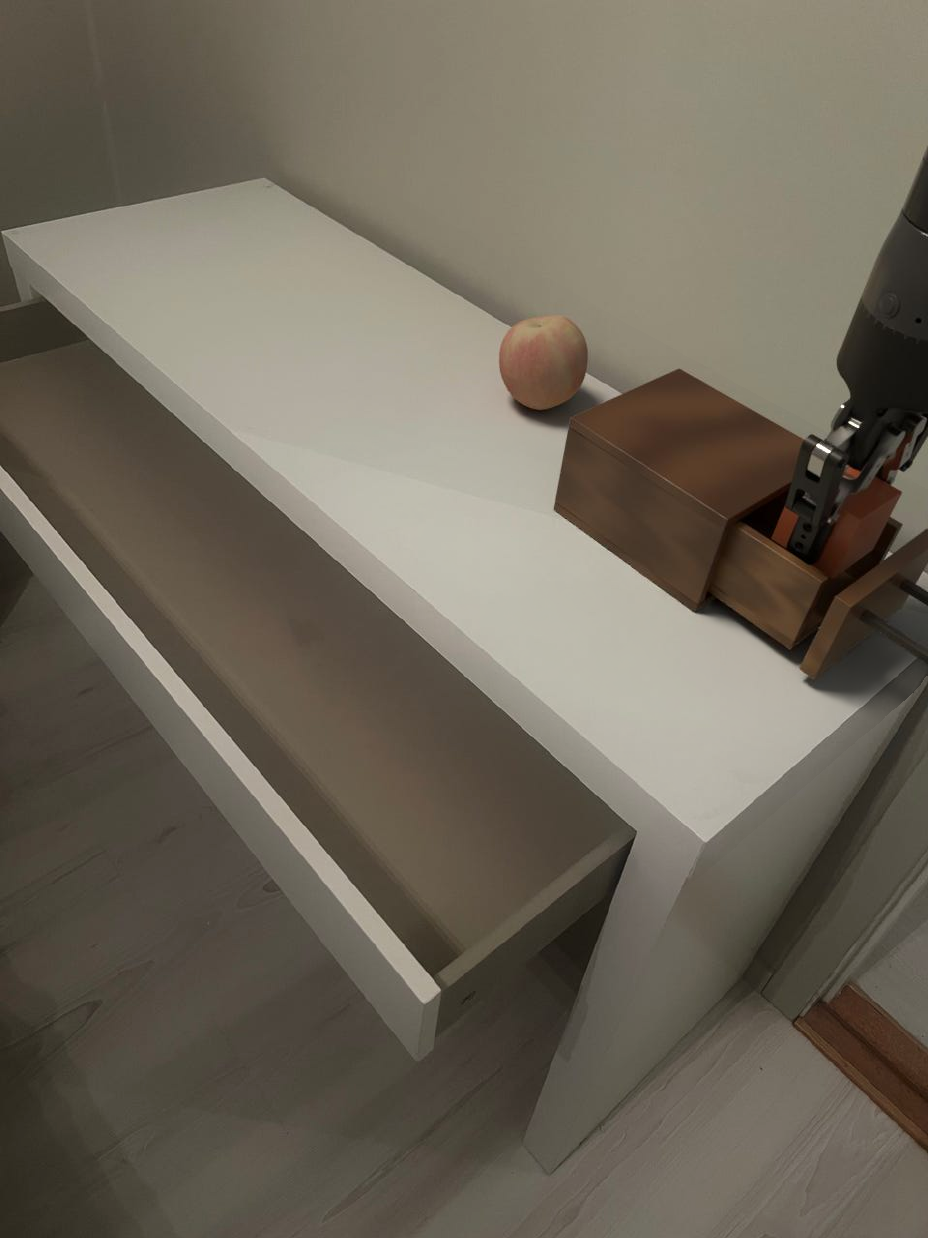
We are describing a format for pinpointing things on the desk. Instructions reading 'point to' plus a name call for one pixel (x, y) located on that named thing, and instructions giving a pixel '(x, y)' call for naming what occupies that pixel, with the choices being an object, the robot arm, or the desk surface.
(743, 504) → the cabinet
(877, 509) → the block
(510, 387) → the apple
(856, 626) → the drawer
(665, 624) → the desk surface
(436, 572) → the desk surface
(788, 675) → the desk surface
